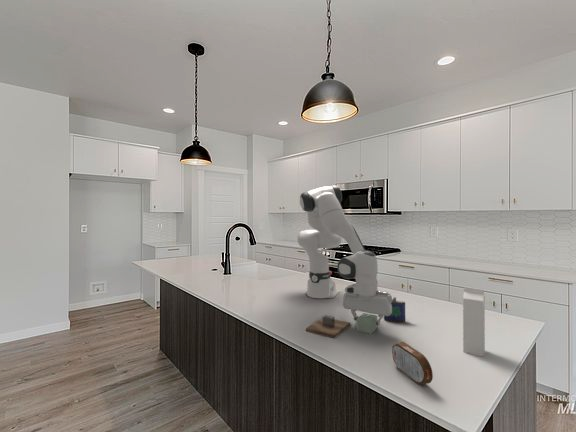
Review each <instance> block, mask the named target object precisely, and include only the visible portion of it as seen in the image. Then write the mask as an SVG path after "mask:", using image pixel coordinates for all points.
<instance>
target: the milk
mask: <svg viewBox="0 0 576 432" xmlns="http://www.w3.org/2000/svg"><path fill="white" fill-rule="evenodd" d="M485 297H486V296H485V290H484V289H480V288H473V287H464V288H463V298H462V308H463V309H462V330H463V331H462V335H463V337H462V343H463V344H462V346H463V347H462V352H463V353H467V354H469V355H474V356H479V357H484V355H485V350H486V349H485V348H486V346H485V342H486V341H485V340H486V337H485V336H486V335H485V334H486V333H485V330H486V329H485V327H486V326H485V324H486V322H485V320H486V318H485V317H486V316H485V313H486V311H485V309H486V308H485V307H486V306H485V303H486V302H485Z"/></svg>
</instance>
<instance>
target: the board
mask: <svg viewBox="0 0 576 432" xmlns="http://www.w3.org/2000/svg"><path fill="white" fill-rule="evenodd" d="M350 326H351V321H350V322H349V321H346V320H341V319H336V318H335V325H334V326H333V327H329V326H325V325H323V317H321V318H319V319H318V320H316V321H314V323H312V324H310V325H309V326H307V327H305V331H306V332H309V333H312V334H317V335H321V336H324V337H329V338H333V339H335V338H337V337H338V336H339V335H340V334H342V333H343V332H344V331H345V330H346V329H348V328H349V327H350Z"/></svg>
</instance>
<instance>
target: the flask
mask: <svg viewBox="0 0 576 432" xmlns="http://www.w3.org/2000/svg"><path fill="white" fill-rule="evenodd" d="M391 305H392V314H391V315H390V316H383V319H384V321H385V322H394V323H405V322H406V320H407V319H406V301H405V300H397V297H396V296H394V297H393V298H392V303H391Z"/></svg>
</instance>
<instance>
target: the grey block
mask: <svg viewBox="0 0 576 432" xmlns="http://www.w3.org/2000/svg"><path fill="white" fill-rule="evenodd" d="M322 318H323V325H325V326H329V327H333V326H334V325H335V319H336V317H335V316H332V315H326V314H325V315H323V316H322Z"/></svg>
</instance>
